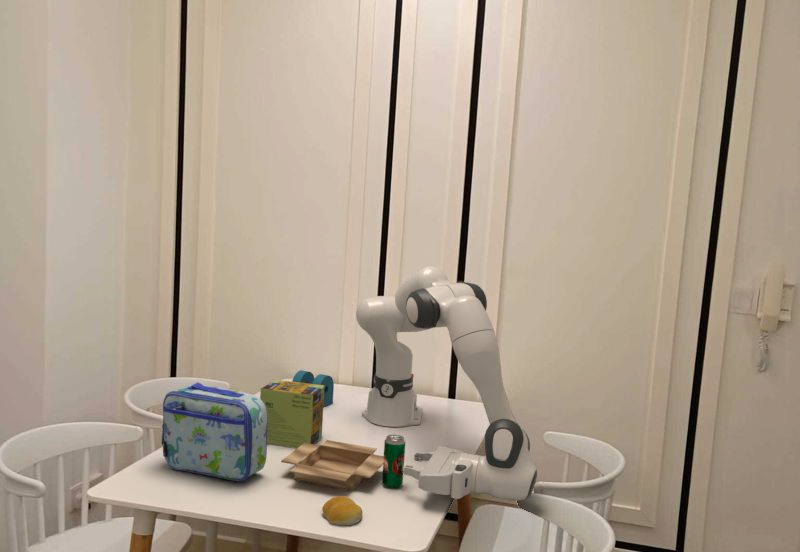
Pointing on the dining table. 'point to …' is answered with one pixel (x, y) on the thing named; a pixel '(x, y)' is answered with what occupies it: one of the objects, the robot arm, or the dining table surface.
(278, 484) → the dining table surface
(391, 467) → the soda can
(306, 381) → the camera mount
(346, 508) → the bread roll
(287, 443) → the protein box
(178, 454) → the lunch box
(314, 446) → the carton
